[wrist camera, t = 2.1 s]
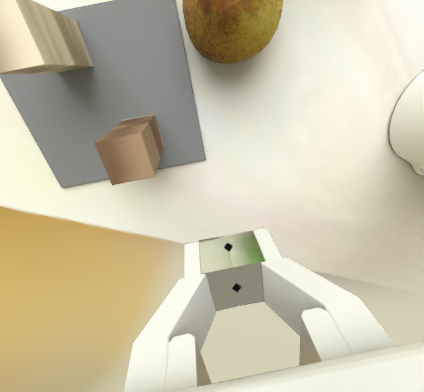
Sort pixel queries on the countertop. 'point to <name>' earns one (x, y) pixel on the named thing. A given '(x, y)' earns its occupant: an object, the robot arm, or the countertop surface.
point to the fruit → (231, 27)
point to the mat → (113, 89)
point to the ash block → (39, 40)
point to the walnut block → (131, 149)
